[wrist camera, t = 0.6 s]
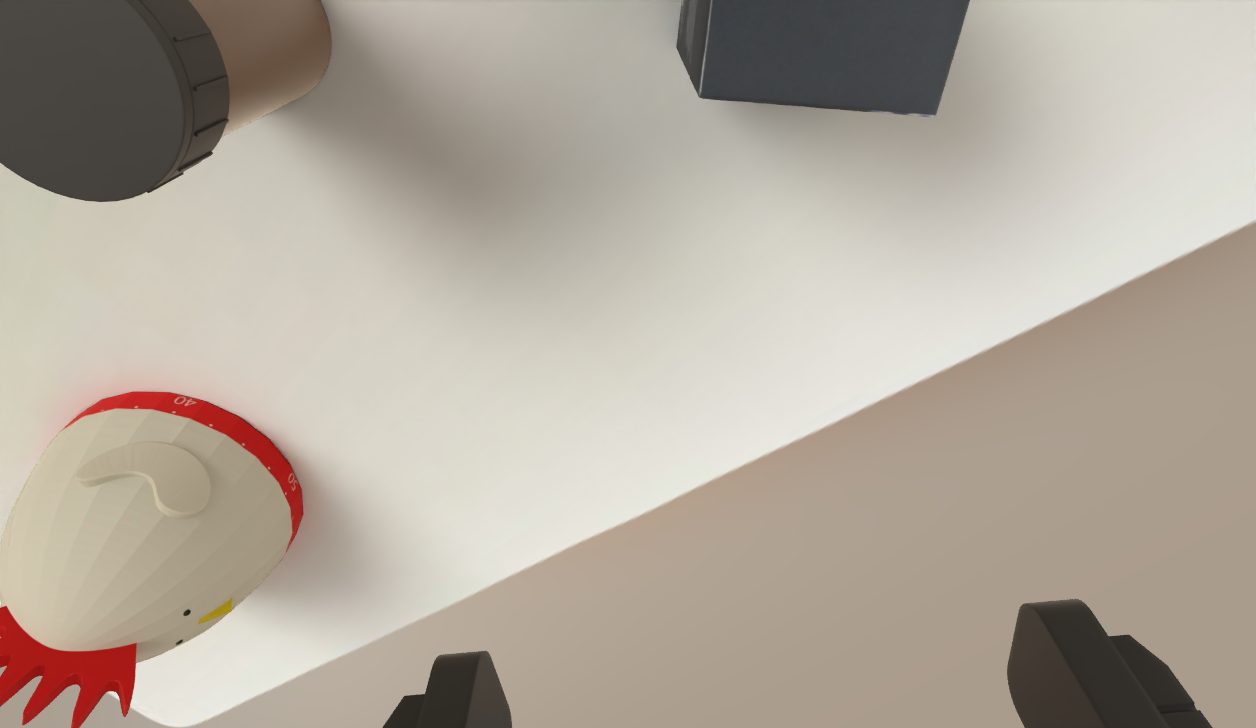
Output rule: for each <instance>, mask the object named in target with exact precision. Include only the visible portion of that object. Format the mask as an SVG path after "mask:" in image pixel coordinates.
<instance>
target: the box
mask: <svg viewBox="0 0 1256 728" xmlns="http://www.w3.org/2000/svg"><path fill="white" fill-rule="evenodd" d="M969 1H970V0H682V6H681V14H680V22H679V30H678V39H677V50H678V52H679V54H680V57H681V59H682V61H683V63H684V65H685V67H686V69H687V72H688V74H689V76H690V79H691V81H692V83H693V85H694V88H695V90H696V91H697V94H698V96H699V97H700V98H703V99H714V100H726V101H743V102H754V103H767V104H778V105H791V106H804V107H815V108H825V109H840V110H852V111H864V112H878V113H889V114H902V115H913V116H923V117H934V116H935V115H936V113H937V110H938V106H939V103H940V100H941V96H942V93H943V90H944V87H945V83H946V80H947V77H948V73H949V69H950V66H951V63H952V60H953V56H954V53H955V49H956V46H957V43H958V39H959V36H960V33H961V29H962V26H963V22H964V19H965V15H966V12H967V9H968V5H969Z"/></svg>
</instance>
